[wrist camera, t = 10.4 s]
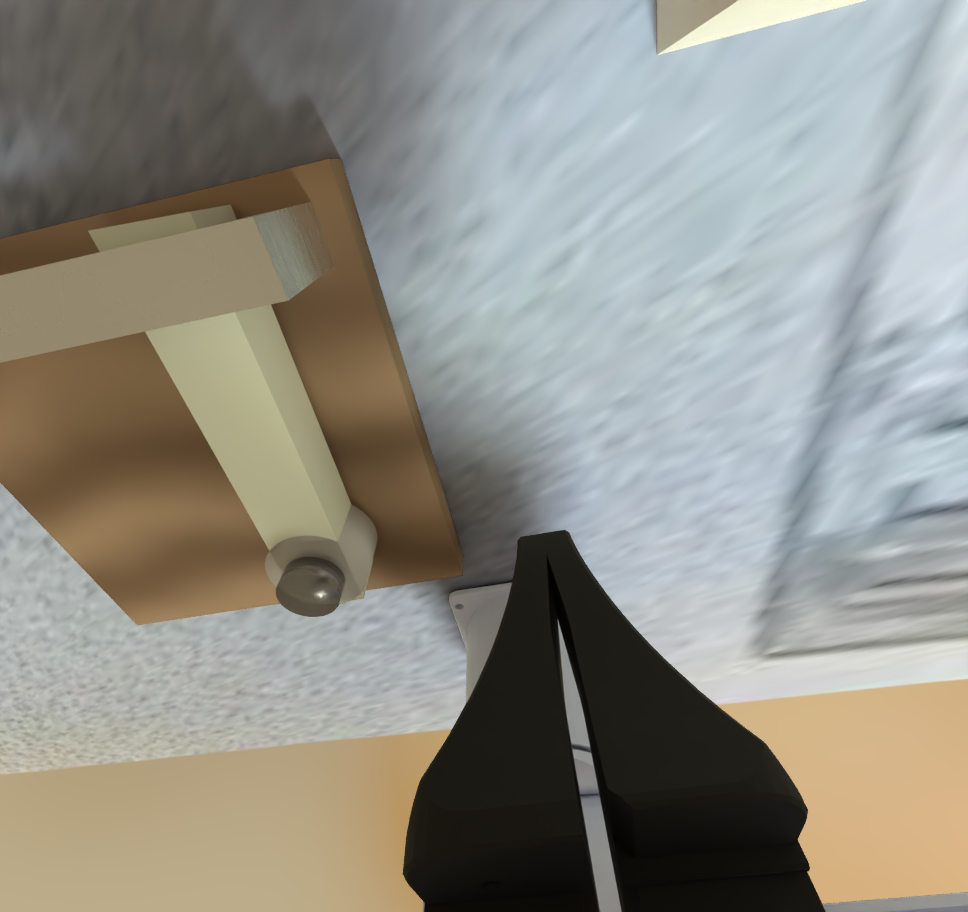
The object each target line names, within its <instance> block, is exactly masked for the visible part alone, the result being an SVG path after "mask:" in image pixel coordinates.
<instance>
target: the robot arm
mask: <svg viewBox="0 0 968 912" xmlns="http://www.w3.org/2000/svg"><path fill="white" fill-rule="evenodd" d="M449 603H450V606H451V608H452V611H453V614H454V617H455V619H456V622H457V625H458V628H459V631H460V633H461V636H462V639H463V642H464V645H465V647H466V650H467V671H466V705H465V707H464V709H463V710H462V712H461V714H460V716H459V718H458V720H457V721H456V723H455V725H454V727H453V729H452V730H451V732H450V734H449V736H448V737H447V739H446V741H445V742H444V744H443V746H442V747H441V749H440V750H439V752H438V753H437V755H436V756H435V758H434V760H433V761H432V763H431V764H430V766H429V767H428V769H427V771H426V772H425V774H424V775H423V777H422V778H421V780H420V783H419V785H418V789H417V792H416V796H415V799H414V802H413V807H412V811H411V815H410V820H409V825H408V830H407V836H406V846H405V856H404V867H403V875H404V877H405V879H406V881H407V883H408V884H409V885H410V887H411V888H412V889H413V890H414V891H415V892H416V893H417V894H418V896H419V897H420V898H421V899H422V900H423V912H968V892H963V893H950V894H938V895H926V896H914V897H901V898H888V899H876V900H864V901H852V902H839V903H827V904H822V903H821V900H820V899H819V896H818V894H817V892H816V890H815V888H814V885H813V883H812V881H811V879H810V877H809V875H808V873H807V871H809V869H810V867H809V863H808V861H807V859H806V857H805V855H804V853H803V851H802V848H801V846H800V844H799V842H798V837H799V835H800V833H801V831H802V829H803V826H804V824H805V822H806V819H807V813H808V809H807V807H806V805H805V803H804V801H803V799H802V797H801V795H800V793H799V792H798V789H797V788H796V786H795V785H794V783H793V782H792V780H791V779H790V777H789V775H788V774H787V772H786V771H785V769H784V768H783V767H782V765H781V764H780V762H779V761H778V759H777V758H776V757H775V755H774V754H773V753H772V752H771V750H770V749H769V747H768V746H767V745H766V744H765V743H764V742H763V741H762V740H761V739H759V738H758V737H757V736H755V735H754V734H753V733H751V732H750V731H749V730H747V729H746V728H745V727H743V726H742V725H741V724H739V723H738V722H737V721H736V720H734V719H733V718H732V717H731V716H729V715H728V714H727V713H726V712H724V711H723V710H722V709H721V708H719V707H718V706H717V705H716V704H715V703H713V702H712V701H711V700H710V699H709V698H707V697H706V696H705V695H704V694H703V693H701V692H700V691H699V690H698V689H697V688H696V687H695V686H694V685H692V684H691V683H690V682H689V681H688V680H687V679H686V678H685V677H684V676H683V675H681V674H680V673H679V672H678V671H677V670H676V669H675V668H674V667H673V666H672V665H671V664H669V663H668V662H667V661H666V660H665V659H664V658H663V657H662V656H661V655H660V654H659V653H658V652H657V651H656V650H655V649H654V648H653V647H652V646H651V645H650V644H649V643H648V642H647V641H646V640H645V638H644V637H643V636H642V635H641V634H640V633H639V632H638V631H637V630H636V629H635V628H634V626H633V625H632V624H631V623H630V622H629V621H628V620H627V618H626V617H625V616H624V615H623V614H622V612H621V611H620V610H619V609H618V608H617V606H616V605H615V604H614V603H613V601H612V600H611V599H610V598H609V596H608V595H607V594H606V592H605V591H604V590H603V588H602V587H601V585H600V584H599V583H598V581H597V580H596V578H595V577H594V576H593V574H592V573H591V571H590V570H589V568H588V567H587V565H586V564H585V562H584V560H583V559H582V557H581V555H580V554H579V552H578V550H577V548H576V546H575V544H574V542H573V540H572V538H571V536H570V533H569V532H567V531H566V530H561V531H555V532H549V533H543V534H536V535H530V536H524V537H521V538H520V539H519V540H518V549H517V559H516V566H515V571H514V576H513V581H512V583H505V584H498V585H492V586H485V587H478V588H472V589H465V590H458V591H454V592H452V593H450V595H449Z"/></svg>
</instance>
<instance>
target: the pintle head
mask: <svg viewBox="0 0 968 912" xmlns="http://www.w3.org/2000/svg"><path fill="white" fill-rule="evenodd" d="M344 586H345V576H344V574H343V572H342V571H341V569H340V568H339V567H338V566H336V565H335V564H334V563H332V562H330V561H328V560H326V559H323V558H319V557H311V556H310V557H300V558H297V559H294V560H292V561H291V562H290V563H289V564H288V565H287V566H286V568H285V570H284V572H283V574H282V576H281V578H280V580H279V583H278V585H277V587H276V597H277V599H278V601H279V602H280V604H281V605H282V606H284V607H285V608H286V609H288V610H289V611H291V612H293V613H296V614H299V615H302V616H308V617H318V616H324V615H327V614H329V613H331V612H333V611H334V610H335V609H336V608H337V607H338V605H339V602H340V599H341V596H342V592H343V589H344Z"/></svg>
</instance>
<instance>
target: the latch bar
mask: <svg viewBox="0 0 968 912" xmlns="http://www.w3.org/2000/svg"><path fill="white" fill-rule="evenodd" d="M233 220H237V219H236V216H235V214H234V211H233V209H232V206H231V204H230V205H225V206H219V207H214V208H208V209H202V210H197V211H191V212H186V213H180V214H175V215H170V216H164V217H159V218H154V219H148V220H143V221H137V222H132V223H127V224H121V225H116V226H111V227H105V228H100V229H95V230H89V231H88V232H89V234H90V236H91V237H92V239H93V241H94V243H95V244H96V246H97V248H98V250H99V251H100V252H102V251H107V250H111V249H115V248H119V247H124V246H128V245H132V244H136V243H141V242H145V241H149V240H153V239H158V238H162V237H166V236H171V235H175V234H179V233H183V232H188V231H192V230H196V229H200V228H204V227H208V226H212V225H216V224H221V223H225V222H229V221H233ZM145 332H146V334H147V336H148V338H149V340H150V341H151V343H152V345H153V347H154V348H155V350H156V352H157V354H158V355H159V357H160V359H161V361H162V362H163V364H164V366H165V368H166V369H167V371H168V373H169V375H170V377H171V378H172V380H173V382H174V384H175V385H176V387H177V389H178V391H179V392H180V394H181V396H182V398H183V399H184V401H185V403H186V405H187V407H188V408H189V410H190V412H191V414H192V415H193V417H194V419H195V421H196V422H197V424H198V426H199V428H200V429H201V431H202V433H203V435H204V436H205V438H206V440H207V442H208V444H209V445H210V447H211V449H212V451H213V452H214V454H215V456H216V458H217V459H218V461H219V463H220V465H221V466H222V468H223V470H224V472H225V473H226V475H227V477H228V479H229V481H230V482H231V484H232V486H233V488H234V489H235V491H236V493H237V495H238V496H239V498H240V500H241V502H242V503H243V505H244V507H245V509H246V510H247V512H248V514H249V516H250V518H251V519H252V521H253V523H254V525H255V526H256V528H257V530H258V532H259V533H260V535H261V537H262V539H263V540H264V542H265V544H266V546H267V547H268V549H269V552H268V554H267V556H266V560H265V570H266V573H267V576H268V578H269V579H270V581H271V582H272V584H273V585H274V586H275V587H277V585H278V583H279V580H280V578H281V576H282V574H283V572H284V570H285V568H286V566H287V565H288V564H289V563H290V562H291V561H292V560H294V559H297V558H300V557H310V556H311V557H319V558H323V559H326V560H328V561H330V562H332V563H334V564H335V565H336V566H338V567H339V568H340V569H341V571H342V572H343V574H344V576H345V586H344V589H343V592H342V596H341V599H340V602H339V604H343V603H346V602H349V601H351V600H358V599H364V595H365V591H366V587H367V583H368V579H369V575H370V571H371V567H372V563H373V556H374V552H375V548H376V544H377V531H376V528H375V525H374V523H373V522H372V520H371V519H370V518H369V517H368V516H367V515H366V514H365V513H364V512H363V511H362V510H360V509H359V508H357V507H356V506H354V505H352V504H351V502H350V500H349V497H348V495H347V492H346V490H345V487H344V485H343V482H342V480H341V477H340V475H339V472H338V470H337V467H336V465H335V462H334V460H333V457H332V455H331V453H330V450H329V448H328V445H327V443H326V440H325V438H324V435H323V433H322V430H321V428H320V425H319V423H318V420H317V418H316V415H315V413H314V410H313V408H312V405H311V403H310V400H309V398H308V395H307V393H306V390H305V388H304V385H303V383H302V380H301V378H300V375H299V373H298V371H297V368H296V366H295V363H294V361H293V358H292V356H291V353H290V351H289V348H288V346H287V343H286V341H285V338H284V336H283V333H282V331H281V328H280V326H279V323H278V321H277V318H276V316H275V313H274V311H273V308H272V306H271V304H270V305H266V306H261V307H257V308H252V309H247V310H243V311H238V312H233V313H229V314H224V315H219V316H215V317H210V318H205V319H201V320H196V321H191V322H187V323H182V324H178V325H173V326H168V327H164V328H159V329H154V330H150V331H145Z"/></svg>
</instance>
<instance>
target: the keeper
mask: <svg viewBox="0 0 968 912" xmlns="http://www.w3.org/2000/svg"><path fill="white" fill-rule="evenodd" d="M332 267H334V264H333V261H332V258H331V256H330V253H329V250H328V247H327V244H326V241H325V239H324V236H323V233H322V230H321V227H320V224H319V222H318V219H317V216H316V213H315V210H314V207H313V205H312V202H309V203H304V204H300V205H296V206H291V207H287V208H283V209H279V210H274V211H270V212H266V213H262V214H257V215H253V216H249V217H245V218H241V219H237V220H233V221H229V222H225V223H221V224H216V225H212V226H208V227H204V228H200V229H196V230H192V231H188V232H183V233H179V234H175V235H171V236H166V237H162V238H158V239H153V240H149V241H145V242H141V243H136V244H132V245H128V246H124V247H119V248H115V249H111V250H107V251H102V252H98V253H94V254H89V255H85V256H81V257H77V258H72V259H68V260H64V261H60V262H55V263H51V264H47V265H43V266H38V267H34V268H30V269H26V270H21V271H17V272H13V273H8V274H4V275H0V363H1V362H6V361H10V360H15V359H20V358H24V357H29V356H34V355H38V354H43V353H47V352H52V351H57V350H61V349H66V348H71V347H75V346H80V345H85V344H89V343H94V342H99V341H103V340H108V339H112V338H117V337H122V336H126V335H131V334H136V333H140V332H145V331H150V330H154V329H159V328H164V327H168V326H173V325H178V324H182V323H187V322H191V321H196V320H201V319H205V318H210V317H215V316H219V315H224V314H229V313H233V312H238V311H243V310H247V309H252V308H257V307H261V306H266V305H270V304H275V303H280V302H284V301H288V300H290V299H291V298H292V297H294V296H295V295H296V294H298V293H299V292H300V291H302V290H303V289H304V288H306V287H307V286H308V285H310V284H311V283H312V282H314V281H315V280H316V279H318V278H319V277H320V276H322V275H323V274H324V273H326V272H327V271H328V270H330V269H331V268H332Z"/></svg>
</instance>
